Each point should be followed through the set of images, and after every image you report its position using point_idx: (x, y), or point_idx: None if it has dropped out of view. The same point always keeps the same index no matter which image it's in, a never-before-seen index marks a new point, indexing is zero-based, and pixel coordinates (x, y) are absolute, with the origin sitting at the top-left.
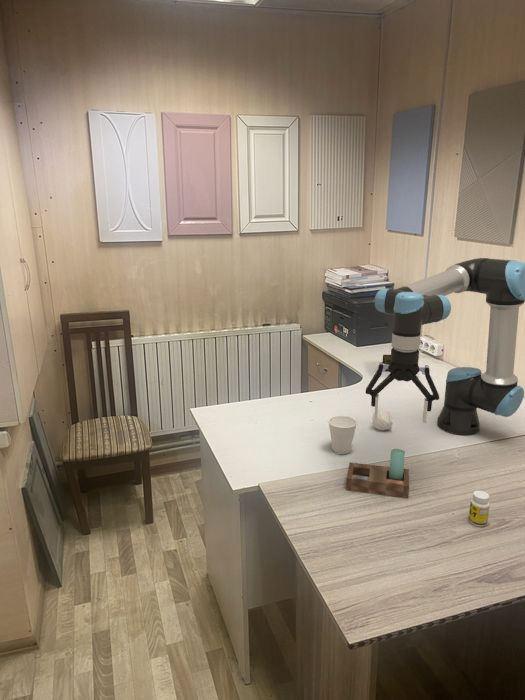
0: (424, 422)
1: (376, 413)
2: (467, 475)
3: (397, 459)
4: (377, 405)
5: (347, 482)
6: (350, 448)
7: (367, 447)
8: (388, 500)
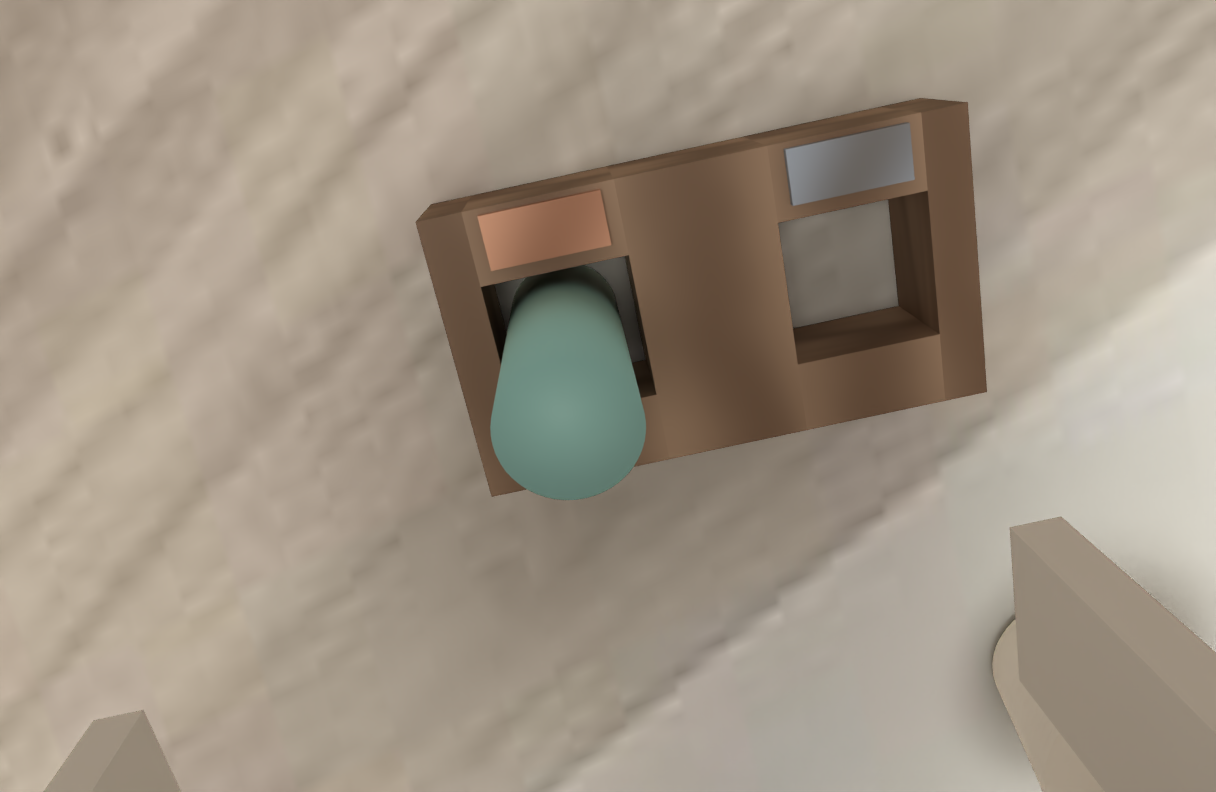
0: (115, 723)
1: (1083, 580)
2: (129, 705)
3: (550, 340)
4: (1201, 713)
5: (940, 104)
6: (1002, 669)
7: (877, 767)
8: (566, 103)
